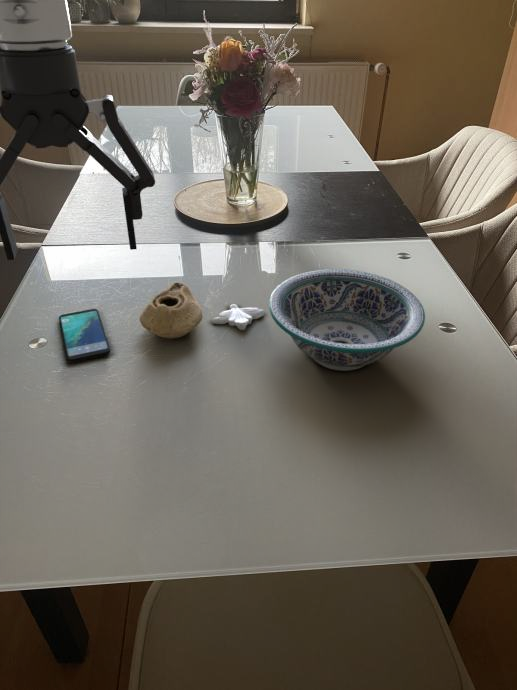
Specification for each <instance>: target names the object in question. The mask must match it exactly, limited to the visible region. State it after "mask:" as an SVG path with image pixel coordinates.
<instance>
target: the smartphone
mask: <svg viewBox="0 0 517 690" xmlns="http://www.w3.org/2000/svg"><path fill="white" fill-rule="evenodd" d="M58 321H59V326H60V330H61V332H60V333H61V336H62V341H63V347H64V351H65V356H66V360H67V362H69V363H77V362H80V361H86V360H90V359H94V358H98V357H105V356H108V355H109V354H110V353H111V348H110V345H109V344H110V343H109V342H108V341H109V340H108V339H107V335H106V332H105V327H104V325H103V322H102V319H101V315H100V313H99V310H98V309H97V308H90V309H85V310H80V311H75V312H70V313H64V314H61V315H59V316H58Z"/></svg>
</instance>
